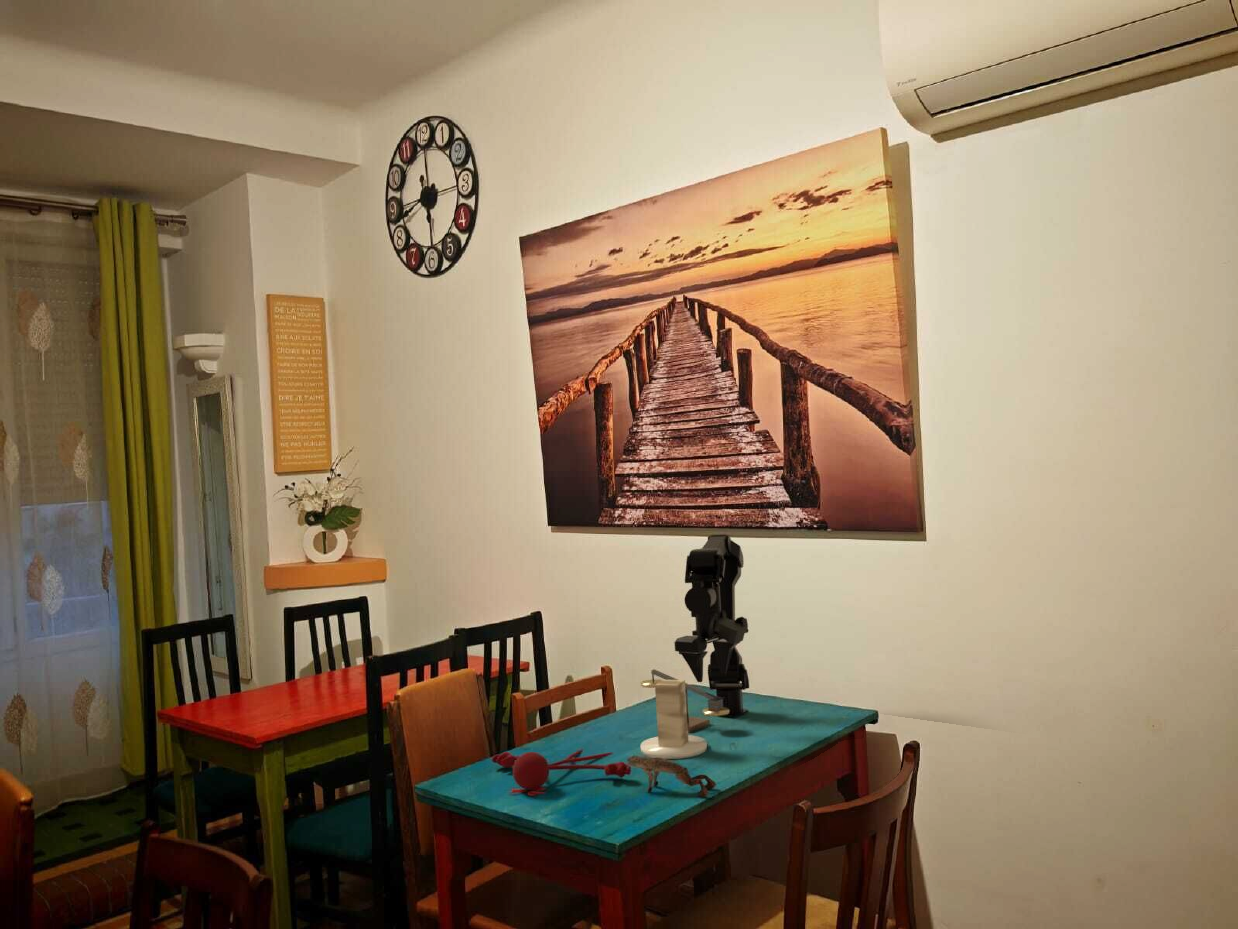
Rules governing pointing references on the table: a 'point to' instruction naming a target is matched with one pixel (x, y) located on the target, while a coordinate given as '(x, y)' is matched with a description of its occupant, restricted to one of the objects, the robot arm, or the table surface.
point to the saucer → (674, 748)
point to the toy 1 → (549, 768)
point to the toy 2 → (669, 767)
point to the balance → (693, 722)
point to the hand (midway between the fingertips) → (712, 677)
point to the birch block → (671, 713)
